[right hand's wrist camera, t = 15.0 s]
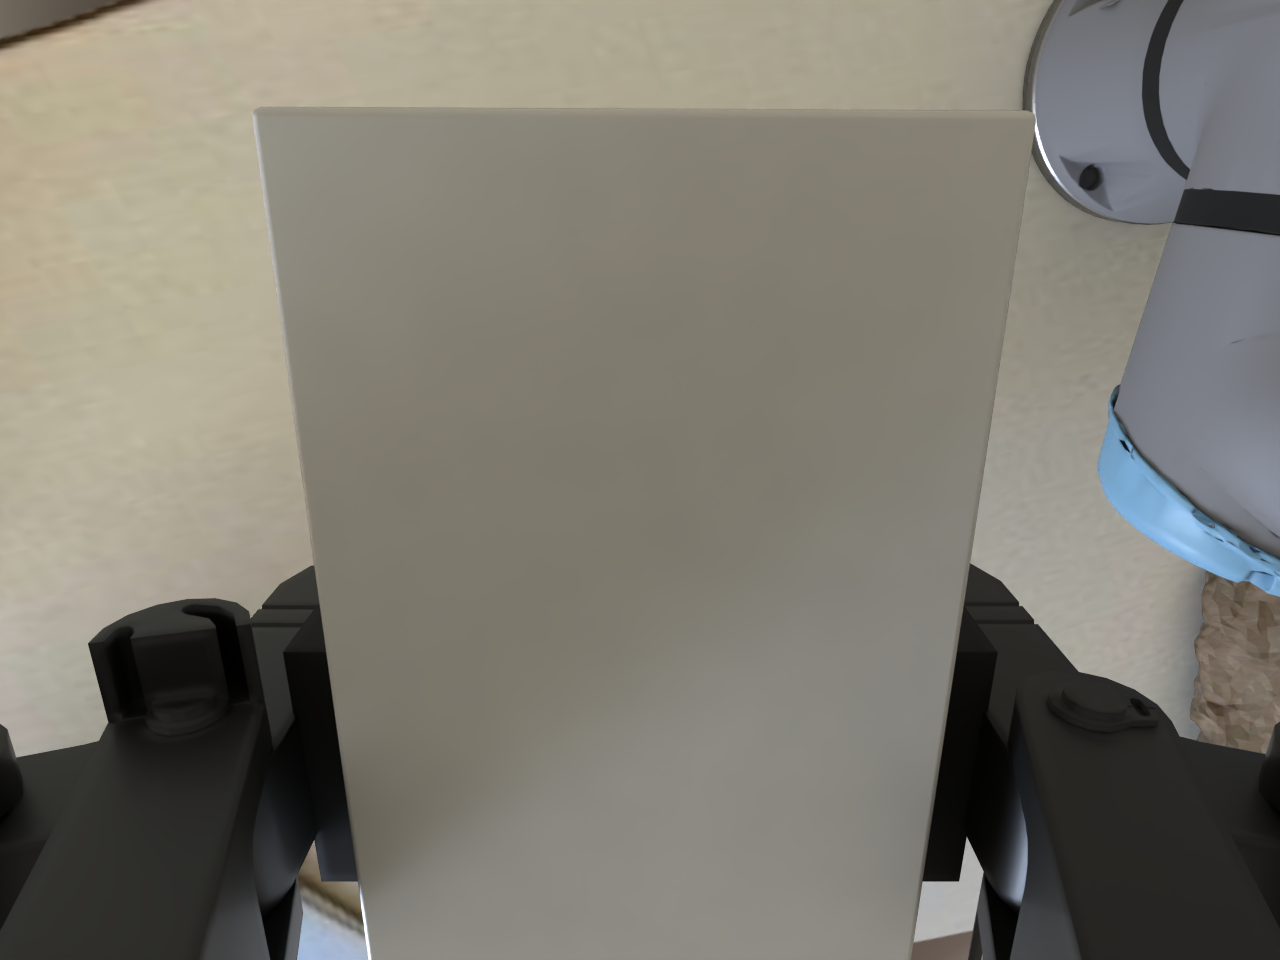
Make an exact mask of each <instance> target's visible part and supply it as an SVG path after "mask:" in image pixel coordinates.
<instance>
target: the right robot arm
mask: <svg viewBox="0 0 1280 960" xmlns="http://www.w3.org/2000/svg"><path fill="white" fill-rule="evenodd" d="M1023 111H1029V112H1032V113H1034V114H1035V118H1036V124H1035V131H1034V138H1033V145H1032V151H1031V152H1032V154H1033V157H1034V159H1035V161H1036V163H1037V165H1038V167H1039V169H1040V171H1041V172H1042V174H1043V175H1044V177H1045V178H1046V180H1047V181H1048V182H1049V184H1050V185H1051V186H1052V187H1053V188H1054V189H1055V190H1056V192H1058V193H1059V194H1060V195H1061V196H1062V197H1063V198H1064V199H1065V200H1067V201H1068V202H1069V203H1071V204H1072V205H1074V206H1075V207H1077V208H1079V209H1081V210H1082V211H1084V212H1086V213H1089V214H1091V215H1094V216H1096V217H1099V218H1103V219H1106V220H1110V221H1117V222H1123V223H1131V224H1146V225H1149V224H1164V223H1170V222H1173V224H1172V227H1171V230H1170V233H1169V236H1168V239H1167V242H1166V245H1165V248H1164V251H1163V255H1162V258H1161V261H1160V264H1159V267H1158V270H1157V273H1156V276H1155V279H1154V282H1153V285H1152V288H1151V292H1150V295H1149V298H1148V301H1147V304H1146V307H1145V310H1144V313H1143V316H1142V319H1141V322H1140V325H1139V329H1138V332H1137V335H1136V338H1135V341H1134V344H1133V347H1132V350H1131V353H1130V356H1129V359H1128V362H1127V366H1126V369H1125V372H1124V375H1123V378H1122V381H1121V384H1120V385H1118V386H1116V387H1115V389H1114V390H1113V392H1112V395H1111V397H1110V400H1109V406H1108V408H1109V422H1108V426H1107V429H1106V433H1105V437H1104V440H1103V444H1102V448H1101V451H1100V455H1099V459H1098V473H1099V476H1100V480H1101V484H1102V487H1103V491H1104V493H1105V495H1106V497H1107V499H1108V500H1109V501H1110V503H1111V504H1112V505H1113V507H1114V508H1115V509H1116V510H1117V511H1118V513H1119V514H1120V515H1121V516H1122V517H1124V518H1125V519H1126V520H1127V521H1128V522H1129V523H1130V524H1131V525H1132V526H1134V527H1135V528H1136V529H1137V530H1139V531H1140V532H1141V533H1143V534H1144V535H1145V536H1147V537H1148V538H1150V539H1151V540H1153V541H1154V542H1156V543H1157V544H1159V545H1160V546H1162V547H1164V548H1165V549H1167V550H1169V551H1170V552H1172V553H1174V554H1176V555H1177V556H1179V557H1181V558H1183V559H1185V560H1186V561H1188V562H1190V563H1192V564H1194V565H1196V566H1198V567H1200V568H1203V569H1205V570H1207V571H1209V572H1211V573H1213V574H1216V575H1218V576H1220V577H1223V578H1225V579H1228V580H1231V581H1234V582H1237V583H1238V582H1241V581H1249V582H1251V583H1252V584H1254V585H1256V586H1258V587H1259V588H1261V589H1262V590H1264V591H1265V592H1267V593H1268V594H1271V595H1275V596H1279V597H1280V0H1054V2H1053V3H1052V5H1051V6H1050V8H1049V10H1048V12H1047V13H1046V15H1045V17H1044V19H1043V21H1042V23H1041V25H1040V27H1039V30H1038V32H1037V34H1036V37H1035V40H1034V42H1033V45H1032V48H1031V51H1030V55H1029V58H1028V62H1027V67H1026V72H1025V77H1024V87H1023ZM1174 223H1176V224H1174ZM1193 225H1194V226H1193ZM88 645H89V649H90V653H91V657H92V661H93V665H94V668H95V672H96V676H97V680H98V684H99V688H100V692H101V695H102V699H103V703H104V707H105V711H106V715H107V718H108V722H109V723H108V725H107V726H106V728H105V730H104V732H103V734H102V736H101V738H100V740H99V741H97V742H93V743H89V744H85V745H80V746H75V747H70V748H64V749H59V750H54V751H49V752H43V753H38V754H33V755H28V756H22V757H17V758H16V756H15V752H14V749H13V746H12V743H11V740H10V736H9V733H8V730H7V729H6V728H5V727H4V726H2V725H1V724H0V960H297V955H298V948H299V940H300V932H301V925H302V917H303V909H302V902H301V895H300V890H299V884H298V879H297V874H298V872H299V870H300V868H301V866H302V864H303V862H304V860H305V858H306V856H307V854H308V851H309V849H310V847H311V845H312V843H313V841H314V840H315V846H316V852H317V857H318V863H319V869H320V875H321V881H358V878H357V870H356V863H355V856H354V849H353V842H352V834H351V827H350V820H349V813H348V805H347V798H346V791H345V784H344V776H343V769H342V762H341V755H340V748H339V740H338V733H337V726H336V719H335V711H334V704H333V697H332V690H331V682H330V675H329V668H328V661H327V654H326V646H325V639H324V632H323V625H322V617H321V610H320V603H319V596H318V588H317V581H316V574H315V567H314V566H310V567H308V568H307V569H305V570H303V571H302V572H300V573H298V574H296V575H295V576H293V577H291V578H290V579H288V580H286V581H284V582H283V583H281V584H280V585H279V586H278V587H277V588H276V589H275V591H274V592H273V593H272V594H271V595H270V597H269V598H268V599H267V600H266V601H265V602H264V604H263V605H262V609H259V610H258V611H257V612H256V613H255V614H254V615H253V617H252V618H251V619H250V614H249V611H248V610H246V609H245V608H243V607H242V606H241V605H239V604H238V603H236V602H231V601H226V600H221V599H216V598H210V599H186V600H180V601H175V602H170V603H164V604H159V605H155V606H153V607H150V608H147V609H144V610H141V611H138V612H135V613H132V614H129V615H127V616H125V617H123V618H122V619H120V620H118V621H116V622H114V623H112V624H111V625H109V626H107V627H105V628H103V629H102V630H101V631H100V632H99V633H98V634H97V635H96V636H95V637H94V638H93V639H92V640H91V641H90V642H89V643H88ZM966 837H967V838H968V840H969V842H970V844H971V846H972V848H973V850H974V852H975V854H976V856H977V858H978V860H979V862H980V865H981V867H982V869H983V871H984V873H983V879H982V884H981V890H980V895H979V901H978V906H977V912H976V917H975V923H974V928H973V934H972V939H971V945H970V950H969V957H968V960H981V956H982V954H983V960H1280V722H1278V723H1277V724H1276V725H1275V726H1274V729H1273V733H1272V736H1271V739H1270V742H1269V745H1268V749H1267V752H1266V754H1263V753H1258V752H1253V751H1247V750H1242V749H1237V748H1231V747H1226V746H1221V745H1216V744H1210V743H1205V742H1200V741H1195V740H1191V739H1187V738H1183V737H1180V736H1179V735H1178V733H1177V731H1176V729H1175V727H1174V725H1173V723H1172V721H1171V720H1170V719H1169V718H1168V717H1167V715H1166V714H1165V713H1164V712H1163V711H1162V709H1161V708H1160V707H1159V706H1158V705H1157V704H1156V703H1154V702H1153V701H1151V700H1150V699H1148V698H1146V697H1145V696H1143V695H1142V694H1140V693H1139V692H1137V691H1136V690H1134V689H1132V688H1129V687H1127V686H1124V685H1122V684H1119V683H1117V682H1115V681H1112V680H1110V679H1107V678H1103V677H1099V676H1094V675H1090V674H1085V673H1081V672H1078V671H1077V669H1076V668H1075V667H1074V666H1073V665H1072V664H1071V662H1070V661H1069V660H1068V659H1067V658H1066V657H1065V655H1064V654H1063V653H1062V652H1061V651H1060V650H1059V648H1058V647H1057V646H1056V645H1055V644H1054V643H1053V641H1052V640H1051V639H1050V638H1049V637H1048V636H1047V634H1046V633H1045V632H1044V631H1043V630H1042V629H1041V627H1040V626H1039V625H1038V624H1034V619H1033V618H1032V617H1031V616H1030V615H1029V613H1028V612H1027V611H1026V610H1025V609H1024V608H1023V606H1019V602H1018V601H1017V599H1016V598H1015V597H1014V596H1013V595H1012V594H1011V592H1010V591H1009V590H1008V589H1007V588H1006V587H1005V585H1004V584H1003V583H1002V582H1001V581H1000V580H998V579H996V578H995V577H993V576H991V575H989V574H988V573H986V572H984V571H983V570H981V569H979V568H977V567H976V566H974V565H972V564H970V566H969V573H968V580H967V586H966V593H965V600H964V606H963V613H962V620H961V627H960V633H959V640H958V647H957V653H956V660H955V667H954V673H953V680H952V687H951V693H950V700H949V707H948V714H947V720H946V727H945V734H944V740H943V747H942V754H941V760H940V767H939V774H938V781H937V787H936V794H935V801H934V807H933V814H932V821H931V827H930V834H929V841H928V847H927V854H926V861H925V868H924V874H923V881H959V879H960V873H961V867H962V861H963V855H964V849H965V843H966Z"/></svg>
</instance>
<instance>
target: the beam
mask: <svg viewBox="0 0 1280 960" xmlns="http://www.w3.org/2000/svg"><path fill="white" fill-rule="evenodd" d="M252 118H253V126H254V133H255V140H256V147H257V155H258V162H259V169H260V176H261V184H262V191H263V198H264V205H265V212H266V220H267V227H268V234H269V241H270V249H271V256H272V263H273V270H274V278H275V285H276V292H277V299H278V306H279V314H280V321H281V328H282V335H283V343H284V350H285V357H286V364H287V372H288V379H289V386H290V393H291V400H292V408H293V415H294V422H295V429H296V437H297V444H298V451H299V458H300V466H301V473H302V480H303V487H304V494H305V502H306V509H307V516H308V523H309V531H310V538H311V545H312V552H313V560H314V567H315V574H316V581H317V588H318V596H319V603H320V610H321V617H322V625H323V632H324V639H325V646H326V654H327V661H328V668H329V675H330V682H331V690H332V697H333V704H334V711H335V719H336V726H337V733H338V740H339V748H340V755H341V762H342V769H343V776H344V784H345V791H346V798H347V805H348V813H349V820H350V827H351V834H352V842H353V849H354V856H355V863H356V870H357V878H358V885H359V892H360V899H361V907H362V914H363V921H364V928H365V936H366V943H367V950H368V957H369V960H911V954H912V948H913V941H914V934H915V928H916V921H917V914H918V908H919V901H920V894H921V888H922V881H923V874H924V868H925V861H926V854H927V847H928V841H929V834H930V827H931V821H932V814H933V807H934V801H935V794H936V787H937V781H938V774H939V767H940V760H941V754H942V747H943V740H944V734H945V727H946V720H947V714H948V707H949V700H950V693H951V687H952V680H953V673H954V667H955V660H956V653H957V647H958V640H959V633H960V627H961V620H962V613H963V606H964V600H965V593H966V586H967V580H968V573H969V566H970V560H971V553H972V546H973V540H974V533H975V526H976V519H977V513H978V506H979V499H980V493H981V486H982V479H983V473H984V466H985V459H986V452H987V446H988V439H989V432H990V426H991V419H992V412H993V406H994V399H995V392H996V386H997V379H998V372H999V365H1000V359H1001V352H1002V345H1003V339H1004V332H1005V325H1006V319H1007V312H1008V305H1009V298H1010V292H1011V285H1012V278H1013V272H1014V265H1015V258H1016V252H1017V245H1018V238H1019V232H1020V225H1021V218H1022V211H1023V205H1024V198H1025V191H1026V185H1027V178H1028V171H1029V165H1030V158H1031V151H1032V145H1033V138H1034V131H1035V124H1036V118H1035V114H1034V113H1032V112H1029V111H1023V110H815V109H608V108H401V107H260V108H257V109H255V110H254V111H253V116H252Z"/></svg>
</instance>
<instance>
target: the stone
mask: <svg viewBox="0 0 1280 960" xmlns="http://www.w3.org/2000/svg"><path fill="white" fill-rule="evenodd" d="M1205 574H1206V584H1205V586H1204V589H1203V592H1202V616H1203V619H1204V621H1203V624H1202V625H1201V629H1200V634H1199V635H1198V637H1197V638H1196V639H1195V641H1194V645H1195V653H1196V657H1197V659H1198V661H1199V672H1198V676H1197V677H1196V679H1195V680H1194V684H1195V693H1194V699H1193V701H1192V703H1191V708H1190V718H1191V720H1193V721H1194V722H1195V723H1196V724H1197V725H1198V726H1199V728H1200V729H1201V732H1200V734H1199V738H1198V739H1197V741H1200V742H1205V743H1210V744H1216V745H1221V746H1226V747H1231V748H1237V749H1242V750H1247V751H1253V752H1258V753H1263V754H1266V752H1267V749H1268V745H1269V742H1270V739H1271V736H1272V733H1273V729H1274V726H1275V725H1276V724H1277V723H1278V722H1280V597H1279V596H1275V595H1271V594H1268V593H1267V592H1265V591H1264V590H1262V589H1261V588H1259V587H1258V586H1256V585H1254V584H1252V583H1251V582H1249V581H1241V582H1238V583H1237V582H1234V581H1231V580H1228V579H1225V578H1223V577H1220V576H1218V575H1216V574H1213V573H1211V572H1209V571H1207V570H1206V573H1205Z"/></svg>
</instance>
